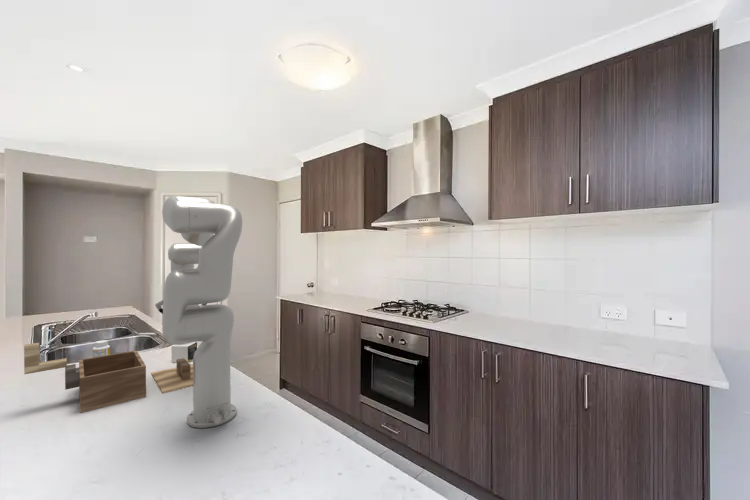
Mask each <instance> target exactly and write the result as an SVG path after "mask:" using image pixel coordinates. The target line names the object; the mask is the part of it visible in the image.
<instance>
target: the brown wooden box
mask: <svg viewBox="0 0 750 500" xmlns="http://www.w3.org/2000/svg"><path fill="white" fill-rule="evenodd" d="M78 363H79V364H78V366H77V367H76V365H77V364H76V363H72V364H67V367H65V368H64V370H65V371H64V382H65V383H64V385H65V386H64V387H65V388H64V390H65V391H66V390H71V389H75V388H78V391H79V413H81V414H82V413H85V412H90V411H94V410H98V409H102V408H106V407H111V406H114V405H118V404H123V403H127V402H131V401H136V400H138V399H143V398H146V397H147V365H146V364H145V362H144V360H143V359H142V357H141V356H140V354H139V352H138V350H136V349H135V350H131V351H130V350H129V351H124V352H119V353H113V354H111V353H110V355H105V356H99V357H93V356H92V357H88V358H83V359H78Z"/></svg>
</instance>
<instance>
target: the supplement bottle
mask: <svg viewBox="0 0 750 500" xmlns="http://www.w3.org/2000/svg"><path fill="white" fill-rule="evenodd" d="M105 355H111V345H109V342H108V340H107V339H105V340H104V339H103V340H98V341H95V342H94V346H93V347H92V358H93V357H99V356H105Z"/></svg>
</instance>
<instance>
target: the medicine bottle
mask: <svg viewBox="0 0 750 500" xmlns="http://www.w3.org/2000/svg"><path fill="white" fill-rule="evenodd" d="M197 348H198V341H197V342H191V343H185V344H178V345H171V363H173V364H174V363H175V364H177V362H176V359H182V358H184V359H185V360H186V361H187V362H188V363H191V362H193V357H194V354H195V352H196V350H197Z"/></svg>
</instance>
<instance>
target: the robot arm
mask: <svg viewBox="0 0 750 500" xmlns="http://www.w3.org/2000/svg"><path fill="white" fill-rule="evenodd" d="M161 213H162V219H163V222H164V223H165V225H166V226H168V228H169V229H170V230H172V232H174V233H177V234H180V236H181V238H182V239H184V241H186V242H177V243H176V242H175V243H173V244H172V245H171V246H170V247H169V248H168V250H167V252H168V253H167V255H168V256H167V257H168V260H169V261H170V272H169V273H168V274H167V276H166V278H165V282H164V287H163V299H162V300H160V301H159V302H157V303H155V308H156V309H157V311H158V312H159V313H161V314H162V321H161V322H162V323H161V325H162V327H161V329H162V330H161V331H162V338H163V340H164V341H165V343H166V344H168V345H171V346H172V345H178V344H185V343H191V342H197V343H198V342H201V343H200V344H199V345H198V346H197V350H196V352H195V354H194V357H193V360H192V364H193V386H192V387H193V388H192V392H193V393H192V397H193V398H192V401H193V402H192V403H193V404H192V405H193V410H192V411H191V412H189V414H188V415H187V417H186V424H187V425H188V426H190V427H193V428H197V429H204V428H205V429H207V428H213V427H217V426H220V425H223V424H225V423H227V422H229V421H231V420H233V418H234V417H235V416H236V414H237V407H236V406H235V405H234V404H233V403H231V400H232V399H231V397H232V396H231V395H232V394H231V391H232V389H231V388H232V387H231V386H232V385H231V350H232V349H231V348H232V347H231V346H232V345H231V344H232V343H231V342H232V335H233V328H234V321H235V319H234V317H235V316H234V312H233V310H232V308H231V307H229V306H228V305H226V304H219V302H224V301H226V300H227V299H228V298H229V295H230V293H231V287H232V278H233V277H232V276H233V265H234V255H235V251H236V248H237V246H238V243H239V241H240V238H241V235H242V230H243V216H242V213H241V211H240V210H239V209H238V208H237V207H235V206H234V205H230V204H226V203H216V202H215V201H214V200H211V199H209V198H205V197H195V196H185V195H184V196H183V195H172V196H168V197H167V198H166V199H165V201H164V203H163V206H162V211H161ZM195 265H197V267H196V268H195ZM213 303H214V304H213ZM215 303H216V304H215Z"/></svg>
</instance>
